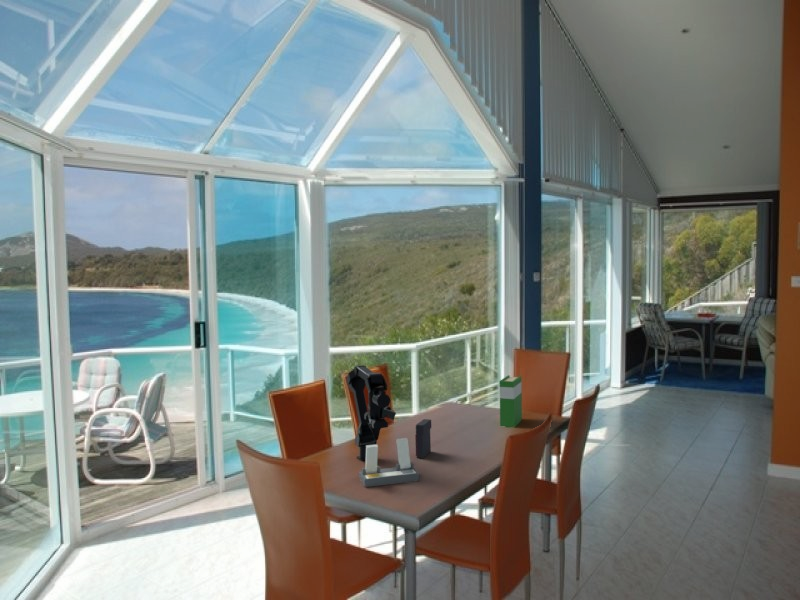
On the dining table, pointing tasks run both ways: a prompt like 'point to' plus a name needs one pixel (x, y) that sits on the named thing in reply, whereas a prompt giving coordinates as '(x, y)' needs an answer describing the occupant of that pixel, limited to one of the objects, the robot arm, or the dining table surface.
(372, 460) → the white switch lever
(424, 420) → the dark gray upright box
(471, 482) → the dining table surface
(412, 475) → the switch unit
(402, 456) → the lever slate
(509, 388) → the hardback book
